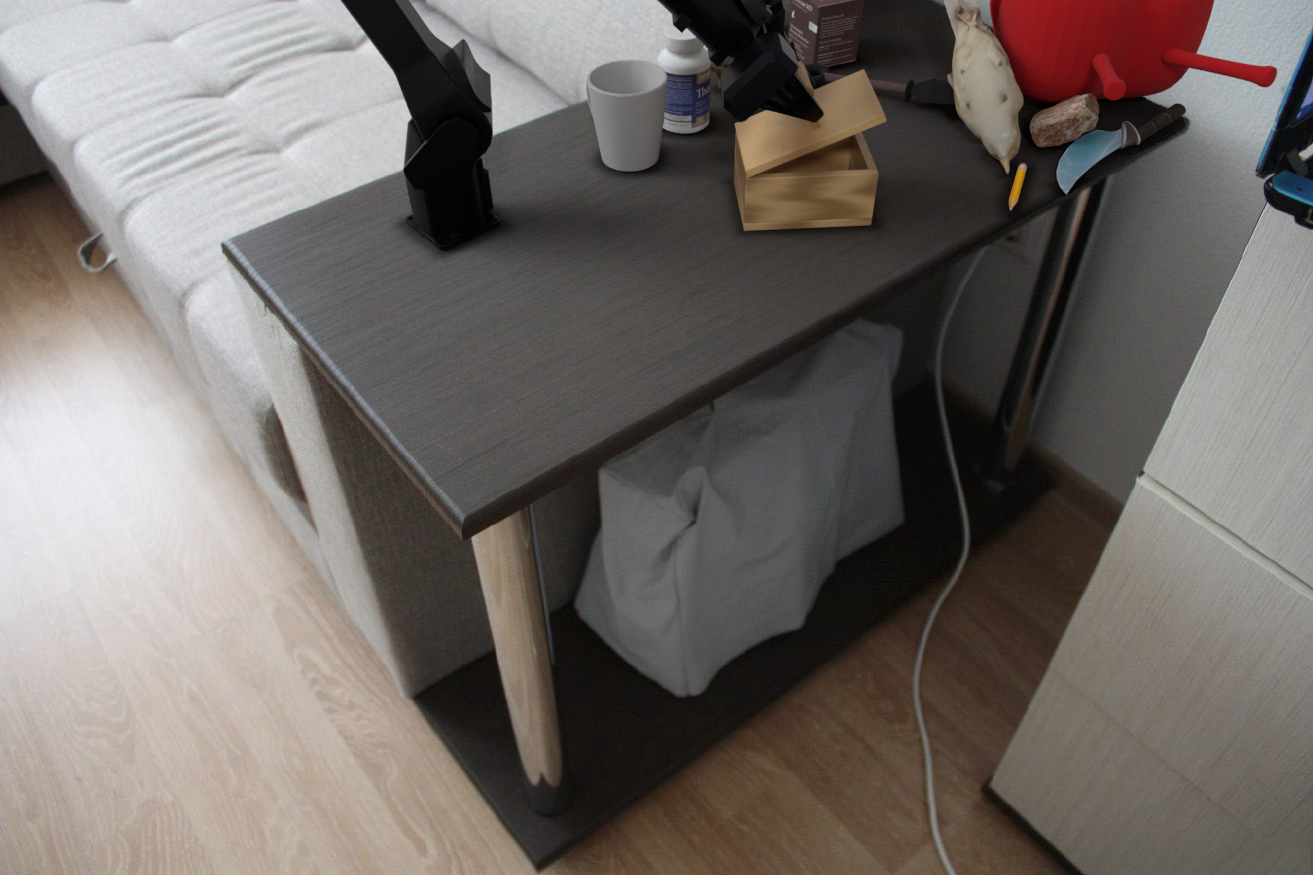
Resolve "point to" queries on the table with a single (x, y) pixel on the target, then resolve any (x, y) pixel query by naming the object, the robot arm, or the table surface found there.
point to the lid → (809, 123)
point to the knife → (1107, 145)
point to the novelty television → (1108, 47)
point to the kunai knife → (902, 88)
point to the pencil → (1017, 185)
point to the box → (825, 30)
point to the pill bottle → (685, 82)
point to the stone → (1065, 121)
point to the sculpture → (984, 82)
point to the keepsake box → (810, 189)
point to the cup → (628, 112)
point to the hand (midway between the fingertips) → (815, 103)
